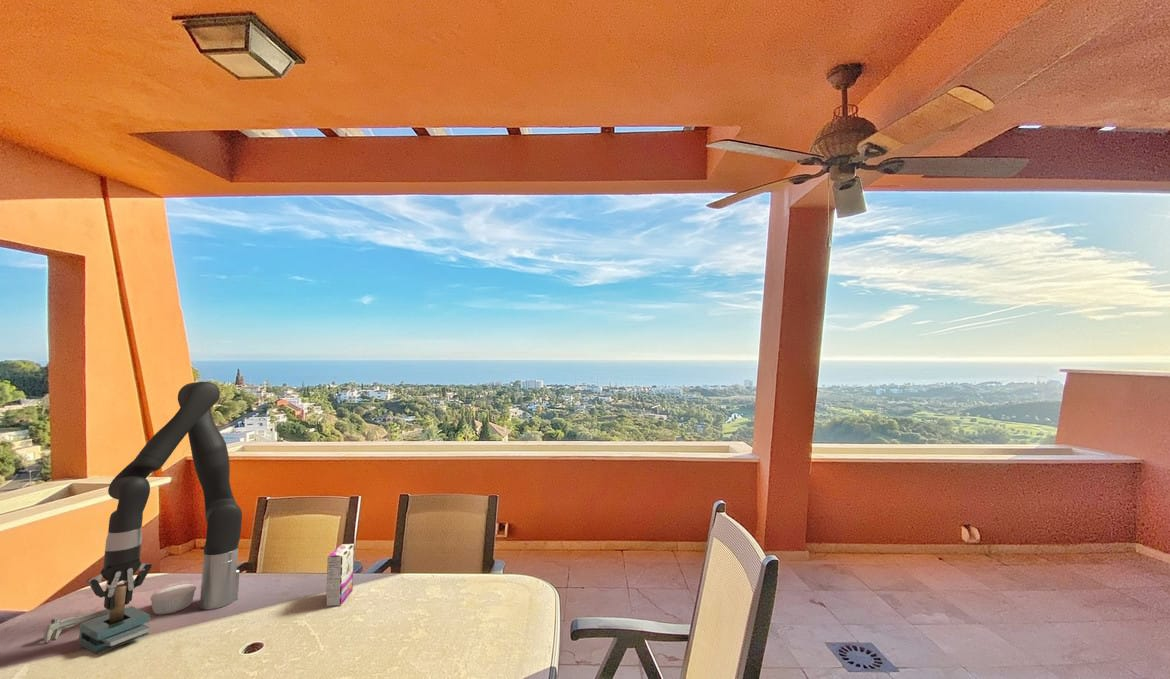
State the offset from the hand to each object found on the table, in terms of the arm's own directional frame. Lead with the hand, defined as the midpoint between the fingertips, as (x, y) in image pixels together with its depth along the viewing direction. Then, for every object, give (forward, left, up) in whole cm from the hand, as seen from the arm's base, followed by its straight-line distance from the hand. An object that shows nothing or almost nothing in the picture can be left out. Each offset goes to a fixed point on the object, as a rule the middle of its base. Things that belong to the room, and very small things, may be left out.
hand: (117, 606), depth 131 cm
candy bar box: (-45, +36, -9) cm, 58 cm away
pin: (0, 0, -4) cm, 4 cm away
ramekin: (-17, -8, -10) cm, 21 cm away
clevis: (0, +1, -9) cm, 9 cm away
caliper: (0, -19, -10) cm, 21 cm away
